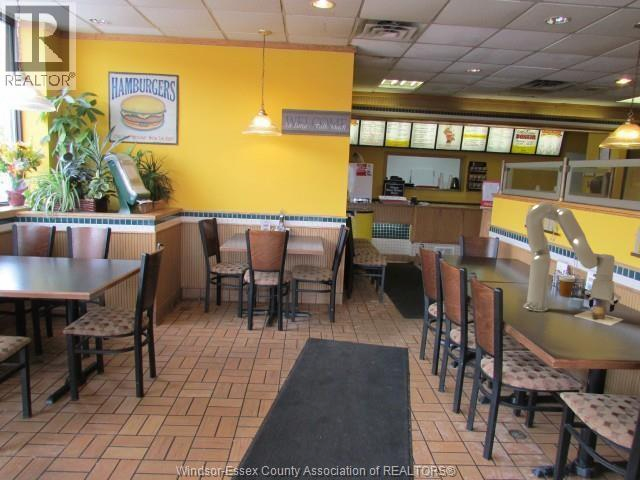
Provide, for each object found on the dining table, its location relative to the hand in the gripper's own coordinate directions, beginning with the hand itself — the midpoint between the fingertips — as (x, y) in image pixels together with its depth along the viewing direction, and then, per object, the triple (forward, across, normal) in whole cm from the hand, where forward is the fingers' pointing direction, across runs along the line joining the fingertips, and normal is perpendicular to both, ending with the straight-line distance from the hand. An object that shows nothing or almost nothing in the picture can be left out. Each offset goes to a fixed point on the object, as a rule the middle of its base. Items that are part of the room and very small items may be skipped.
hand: (601, 309), depth 240 cm
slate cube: (+5, -17, +12) cm, 21 cm away
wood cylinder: (+5, -1, 0) cm, 5 cm away
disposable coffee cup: (+5, -33, +34) cm, 47 cm away
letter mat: (+5, -1, 0) cm, 5 cm away
